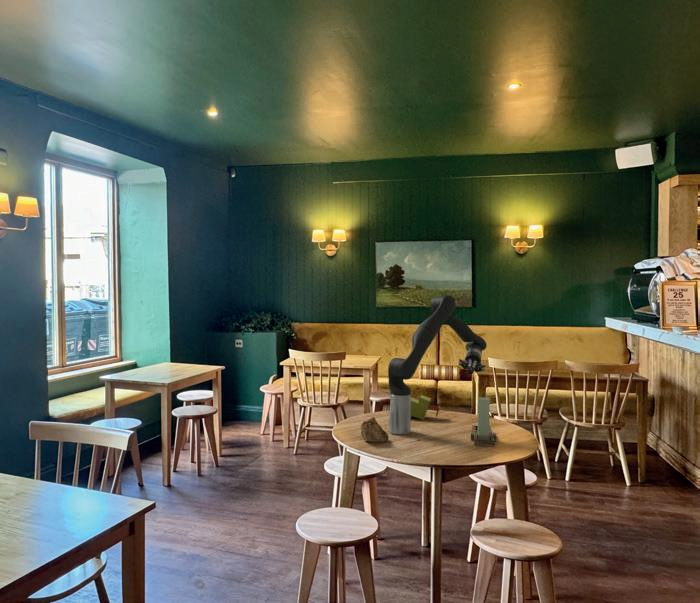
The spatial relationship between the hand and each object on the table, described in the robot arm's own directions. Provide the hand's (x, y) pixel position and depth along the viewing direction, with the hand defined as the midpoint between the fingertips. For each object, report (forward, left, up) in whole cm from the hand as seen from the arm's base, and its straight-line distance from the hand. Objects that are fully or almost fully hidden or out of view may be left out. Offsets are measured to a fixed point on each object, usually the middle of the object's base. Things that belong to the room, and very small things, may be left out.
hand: (470, 372), depth 230 cm
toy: (-18, +27, -27) cm, 42 cm away
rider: (+1, -15, -27) cm, 31 cm away
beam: (+2, -12, -27) cm, 30 cm away
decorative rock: (-46, -15, -27) cm, 55 cm away
